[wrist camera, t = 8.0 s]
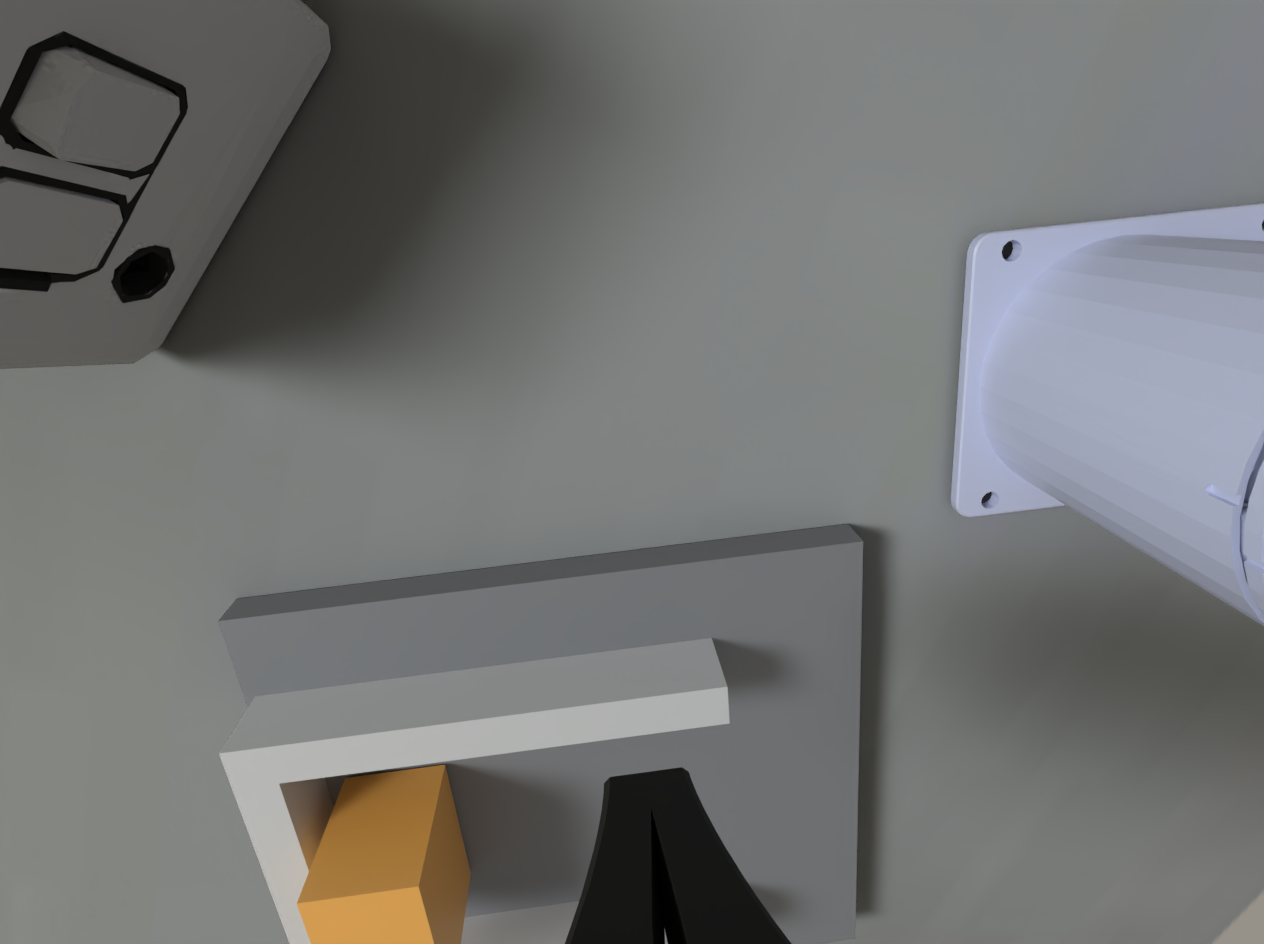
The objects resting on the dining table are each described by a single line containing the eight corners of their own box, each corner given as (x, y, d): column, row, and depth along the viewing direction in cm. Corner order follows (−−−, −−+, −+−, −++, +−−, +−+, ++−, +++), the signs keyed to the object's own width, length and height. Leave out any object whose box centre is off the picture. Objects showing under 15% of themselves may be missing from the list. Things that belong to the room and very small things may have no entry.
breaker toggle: (445, 764, 22) (418, 886, 18) (470, 874, 24) (451, 1007, 20) (345, 777, 22) (296, 903, 18) (377, 887, 24) (339, 1023, 20)
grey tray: (847, 523, 22) (897, 581, 19) (843, 908, 27) (880, 1003, 24) (236, 598, 21) (175, 671, 18) (361, 978, 27) (333, 1086, 23)
